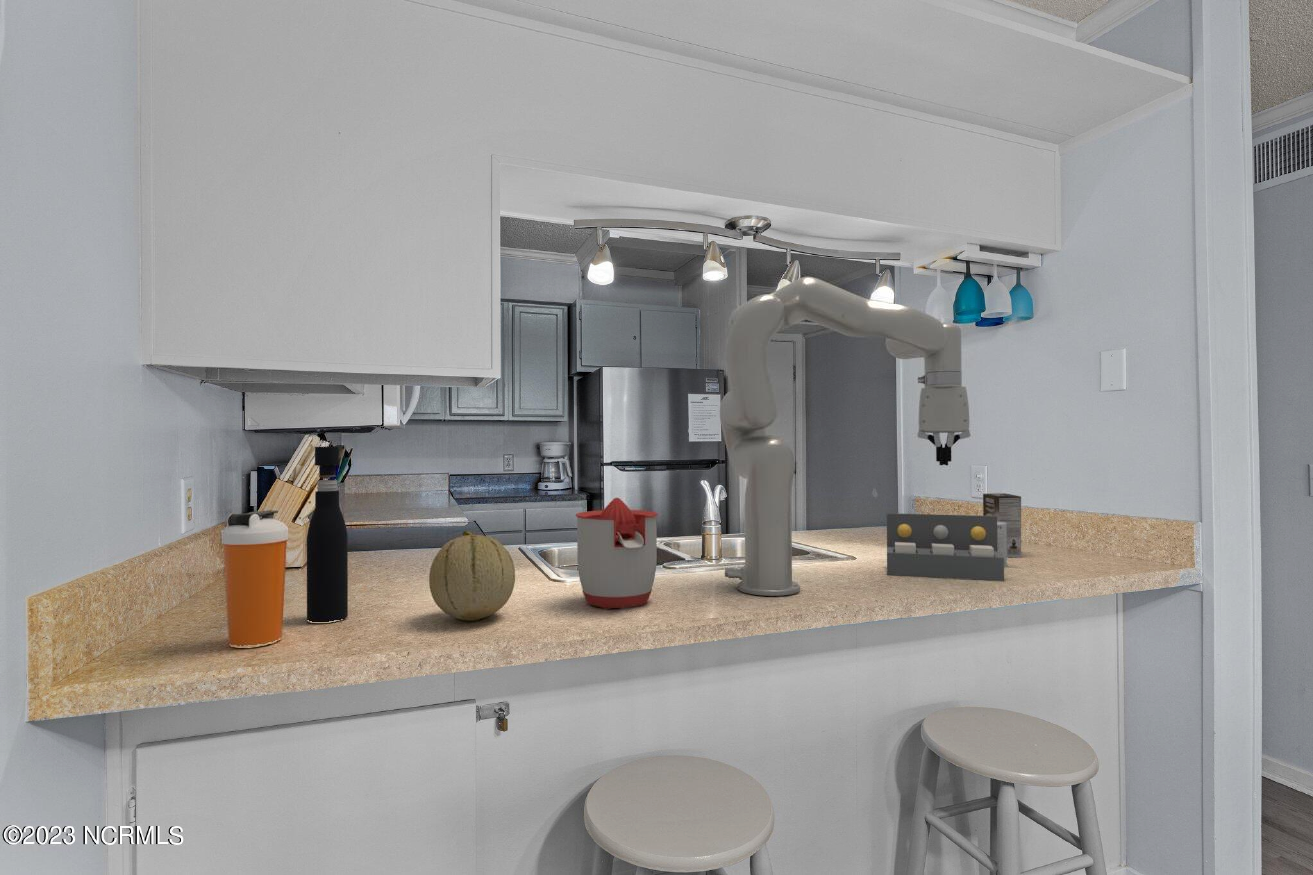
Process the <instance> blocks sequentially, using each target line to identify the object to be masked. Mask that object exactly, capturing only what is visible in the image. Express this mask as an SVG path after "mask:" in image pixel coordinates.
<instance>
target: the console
mask: <svg viewBox="0 0 1313 875" xmlns="http://www.w3.org/2000/svg"><path fill="white" fill-rule="evenodd" d="M895 542H904V543H915V545H916V553H895ZM932 544H952V545H953V546H954V555H941V554H932ZM970 545H983V546H992V547H993V548H994V557H988V556H970ZM886 575H887V576H904V577H921V578H922V577H923V578H924V577H925V578H938V579H939V578H941V579H942V578H943V579H958V580H959V579H960V580H978V581H996V582H997V581H998V582H1005V568H1004V557H1003V556H1002V555H1001V554H1000V553H999V552H998V550H997V516H983V515H974V514H973V515H972V514H971V515H969V514H968V515H967V514H965V515H964V514H963V515H962V514H934V513H933V514H930V513H929V514H928V513H927V514H926V513H925V514H924V513H898V512H897V513H895V512H894V513H892V512H891V513H889V512H887V513H886Z"/></svg>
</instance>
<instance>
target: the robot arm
mask: <svg viewBox="0 0 1313 875" xmlns="http://www.w3.org/2000/svg"><path fill="white" fill-rule="evenodd" d="M805 320H806V321H809V322H812V323H814V324H817V325H820V326H822V327H825V328H827V329H830V330H832V331H835V332H837V333H839V334H842V335H844V336H846V337H847V336H848V337H854V338H884V339H886V340H885V347H886V350H887V352H888V353H889V354H890V355H891V356H892V357H894V358H896V359H901V360H910V359H919V358H920V359H921V358H923V359H924V364H923V365H924V375H921V376H917V384H923V385H924V387H921V388H920V394H919V402H918V431H917V436H916V437H917V438H919V439H924V440H928V441H929V442H930V443H932V444H933V445H934V446H935V462H938V463H939V466H949V462H952V447H953V446H954V445H955V444H956V443H957V442H958V441H959V440H962V439H966V438H970V437H971V431H970V408H969V406H970V404H969V397H968V392H967V388H966V386H962V385H963V380H962V374H963V373H962V331H961V330H962V329H961V328H960V327H959V325H957V324H954V323H944V324H943V323H942V322H941V320H939V319H937V318H935V317H934V316H932V315H930V314H928V313H925V312H924V311H921V310H918V309H915V308H914V307H909V306H907V305H903V304H898V303H892V302H888V301H887V302H886V301H881V300H877V299H869V298H866V297H863V296H859V295H858V294H855V293H853V292H851V291H847V290H845V289H843V288H841V287H838V286H836V285H834V284H831V283H830V282H827V281H824V280H822V279H820V278H816V277H812V276H804V277H800V278H798V279H795V280H793V281H792V282H790V283H788V284H786V285H785V286H783V287H781V288H779V289H777V290H775V291H774V292H772V293H769V294H768V293H767V294H765V293H764V294H760V295H757V296H755V297H754V298H751V299H749V300H748V301H746V302H744V303H743V304H741V305H740V306H738V307H736V308H735V309H734V310H733V311H732V312H731V314H730V316H729V319H728V323H727V325H728V330H729V334H728V336H727V340H726V344H725V350H724V351H725V354H724V355H725V356H724V357H725V358H724V359H725V367H726V372H727V378H728V379H727V380H728V384H729V388H730V390H729V391H727V393H725V395H724V396H723V398H722V399H721V402H720V406H719V419H720V424H721V429H722V432H723V438H724V442H725V446H726V451H727V455H728V460H729V462H730V465H731V467H732V469H733V471H734V472H735V473H736V474H737V475H738V476H739V477H741V478H743V479H744V480H745V479H746V487H745V491H744V492H745V493H744V504H743V505H744V507H743V508H744V566H743V567H742V566H740V567H739V568H735V567H725V569H724V577H725V578H728V579H739V582H738V583H737V590H739V592H741V593H745V594H749V595H754V596H765V597H766V596H768V597H769V596H770V597H779V596H789V595H794V594H797V593H799V592H800V591H801V585H800V584H799V583H798V582H796V581H793V556H792V555H793V551H792V549H793V548H792V547H793V546H792V544H793V543H792V542H793V541H792V540H793V537H792V535H793V534H792V533H793V532H792V530H793V528H792V527H793V526H792V519H793V518H792V493H793V492H792V491H793V482H794V476H795V470H796V458H795V454H794V450H793V449H792V447H791V445H790V444H789V442H787V441H786V440H785V439H783V438H781V437H779V436H776V435H769V434H768V435H767V433H766V429H767V428H769V427H770V426H772V425H773V424H774V423H775V422H776V420H777V419H778V414H779V407H778V402H777V398H776V394H775V388H774V385H773V380H772V376H771V371H770V367H769V366H770V365H769V359H768V358H769V357H768V355H769V354H768V353H769V352H768V351H769V345H770V343H771V341H772V339H773V338H774V335H775V334H777V333H779V332H781V331H783V330H786V329H787V328H789V327H791V326H794V325H796V324H797V323H800V322H802V321H805ZM930 433H931V434H930ZM941 433H945V434H946V441H945V443H944V446H943V443H942V442H941V436H940V434H941ZM956 433H957V434H956Z"/></svg>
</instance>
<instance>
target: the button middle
mask: <svg viewBox="0 0 1313 875" xmlns="http://www.w3.org/2000/svg"><path fill="white" fill-rule="evenodd" d="M932 554H941V555H954V546H953V545H952V544H932Z"/></svg>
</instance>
